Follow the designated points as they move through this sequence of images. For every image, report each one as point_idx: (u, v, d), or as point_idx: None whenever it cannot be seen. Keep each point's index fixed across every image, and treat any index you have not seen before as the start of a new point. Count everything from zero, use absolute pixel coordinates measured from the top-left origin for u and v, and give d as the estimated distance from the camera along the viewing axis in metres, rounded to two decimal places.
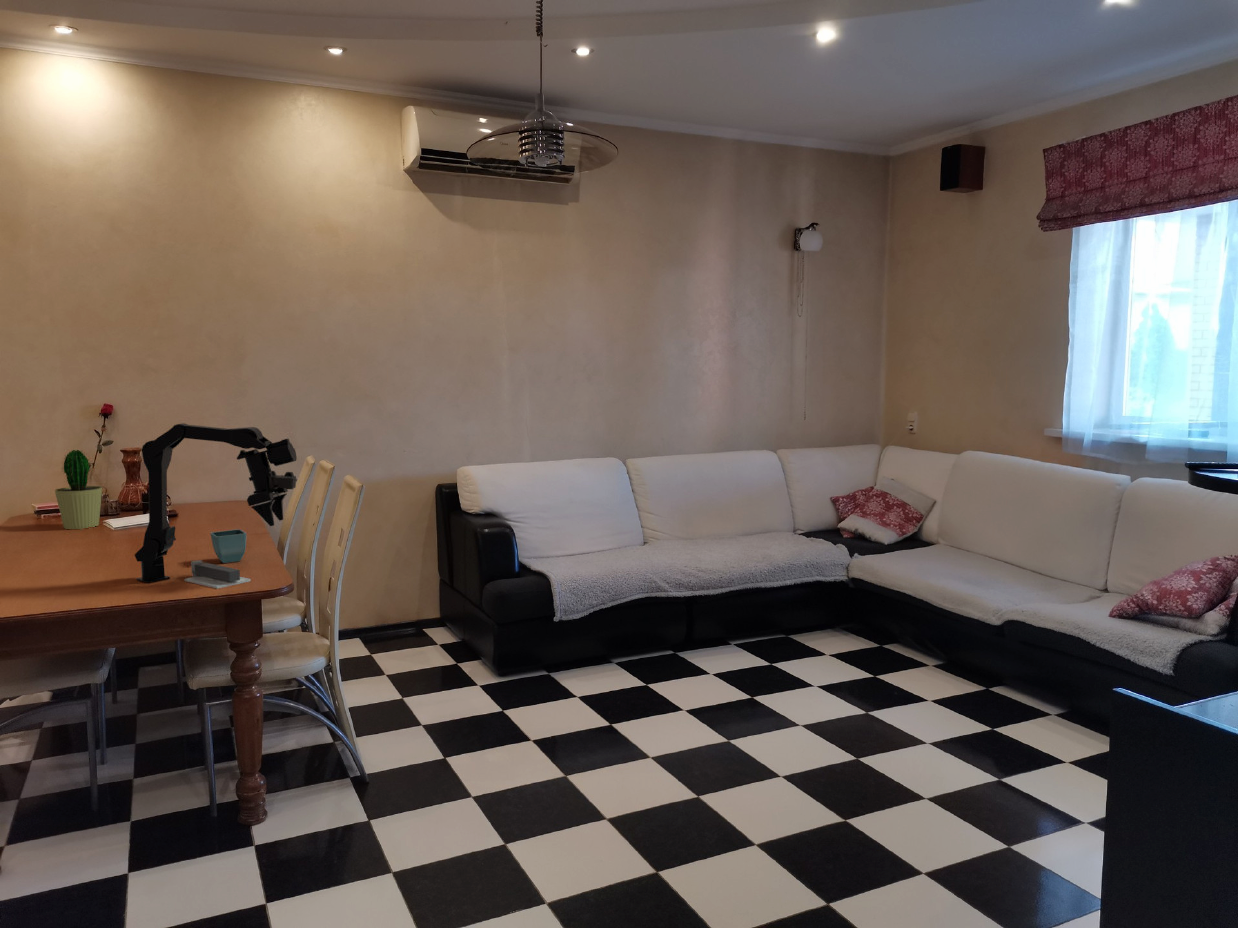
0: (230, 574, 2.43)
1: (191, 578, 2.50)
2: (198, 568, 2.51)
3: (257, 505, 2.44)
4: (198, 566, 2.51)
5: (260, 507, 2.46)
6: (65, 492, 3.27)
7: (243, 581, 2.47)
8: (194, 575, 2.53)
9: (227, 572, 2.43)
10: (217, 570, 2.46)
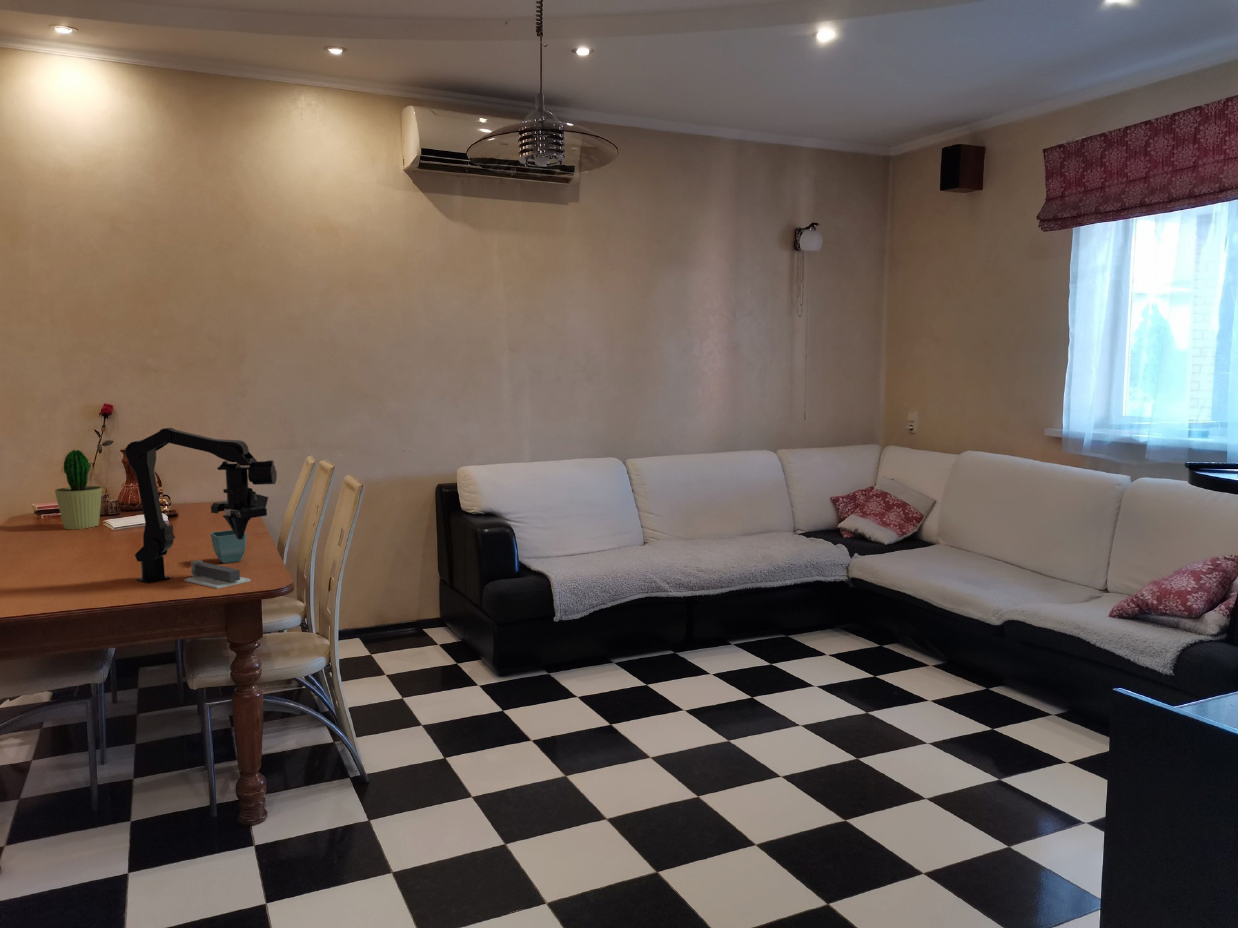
0: (230, 574, 2.43)
1: (191, 578, 2.50)
2: (198, 568, 2.51)
3: None
4: (198, 566, 2.51)
5: (239, 519, 2.51)
6: (65, 492, 3.27)
7: (243, 581, 2.47)
8: (194, 575, 2.53)
9: (227, 572, 2.43)
10: (217, 570, 2.46)
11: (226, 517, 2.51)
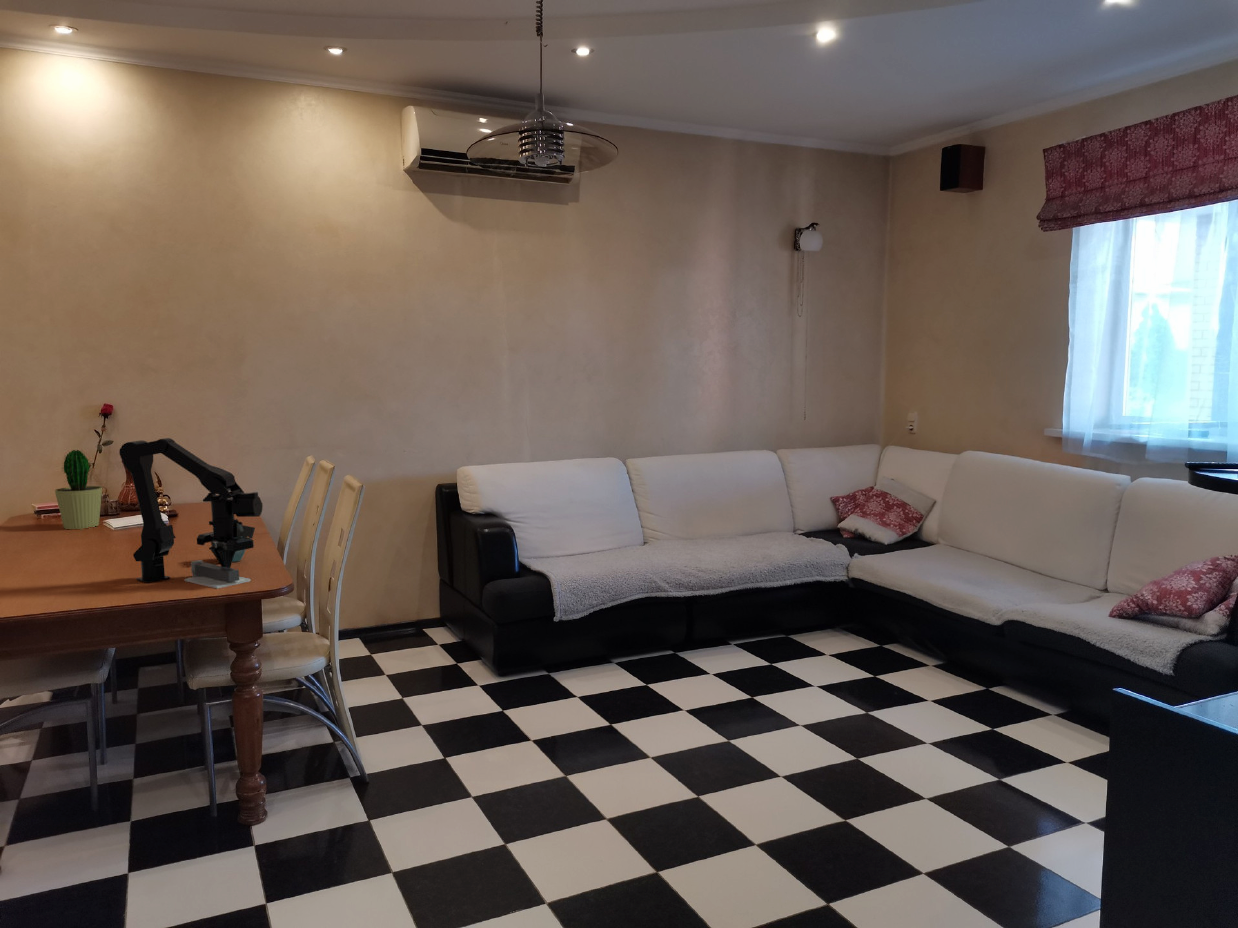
0: (229, 574, 2.43)
1: (191, 578, 2.50)
2: (198, 568, 2.51)
3: (229, 549, 2.47)
4: (198, 566, 2.51)
5: (225, 552, 2.48)
6: (65, 492, 3.27)
7: (243, 581, 2.47)
8: (194, 575, 2.53)
9: (226, 572, 2.43)
10: (216, 570, 2.46)
11: (212, 549, 2.48)
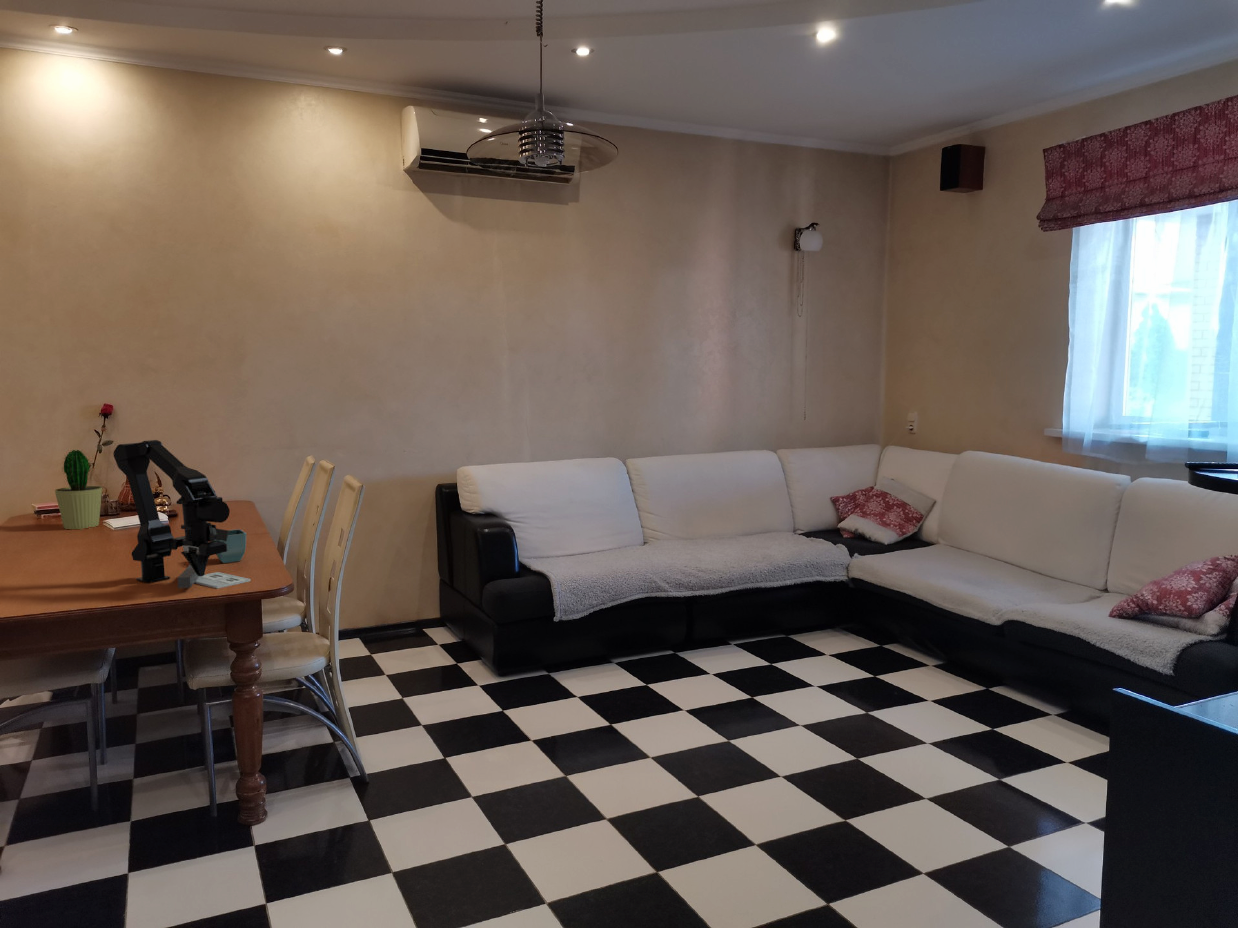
0: (178, 580, 2.36)
1: None
2: None
3: None
4: None
5: (198, 556, 2.41)
6: (65, 492, 3.27)
7: (243, 581, 2.47)
8: None
9: (178, 578, 2.37)
10: (182, 574, 2.42)
11: (184, 554, 2.41)
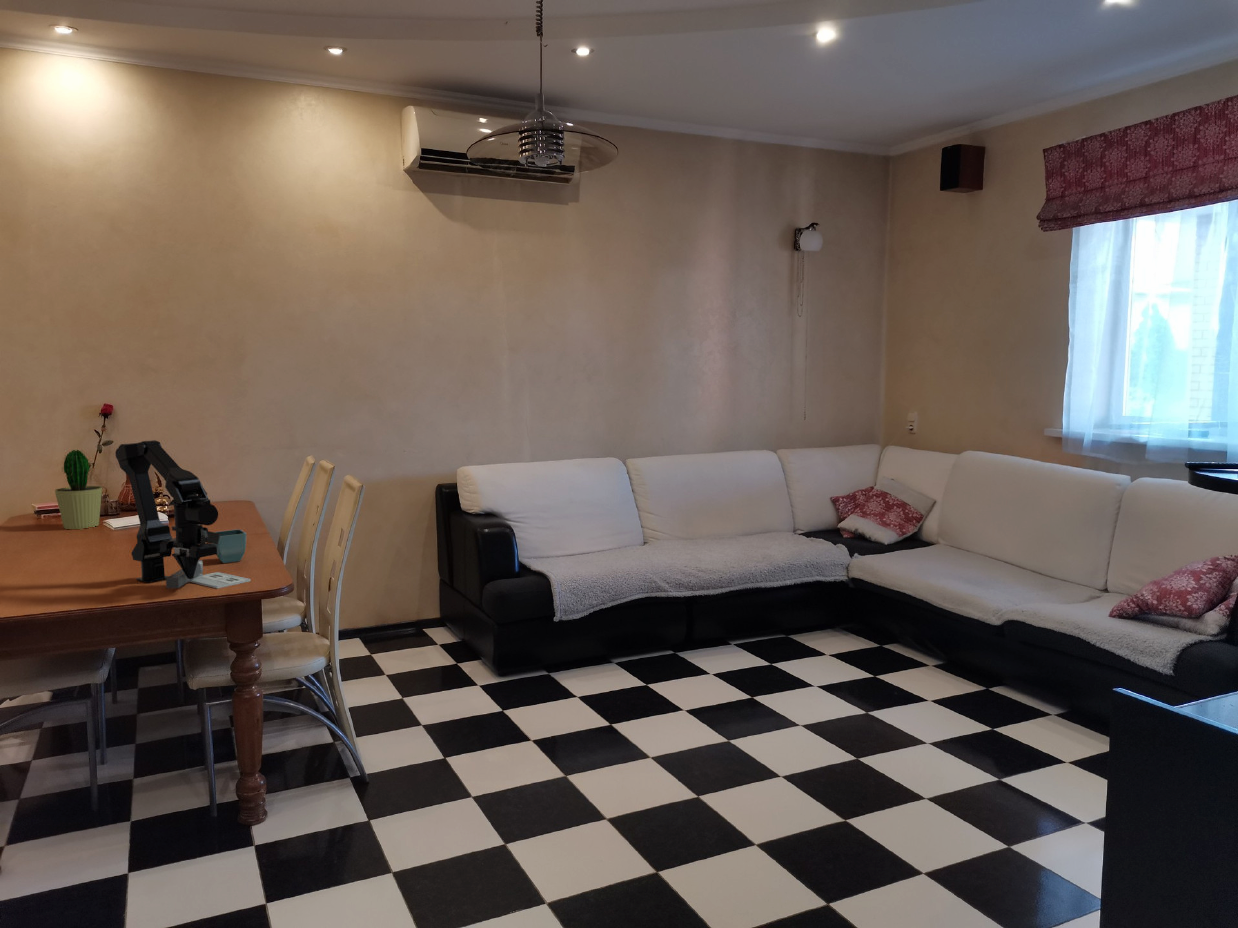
0: (167, 581, 2.36)
1: None
2: None
3: None
4: None
5: (188, 558, 2.39)
6: (65, 492, 3.27)
7: (243, 581, 2.47)
8: None
9: None
10: None
11: (175, 556, 2.39)
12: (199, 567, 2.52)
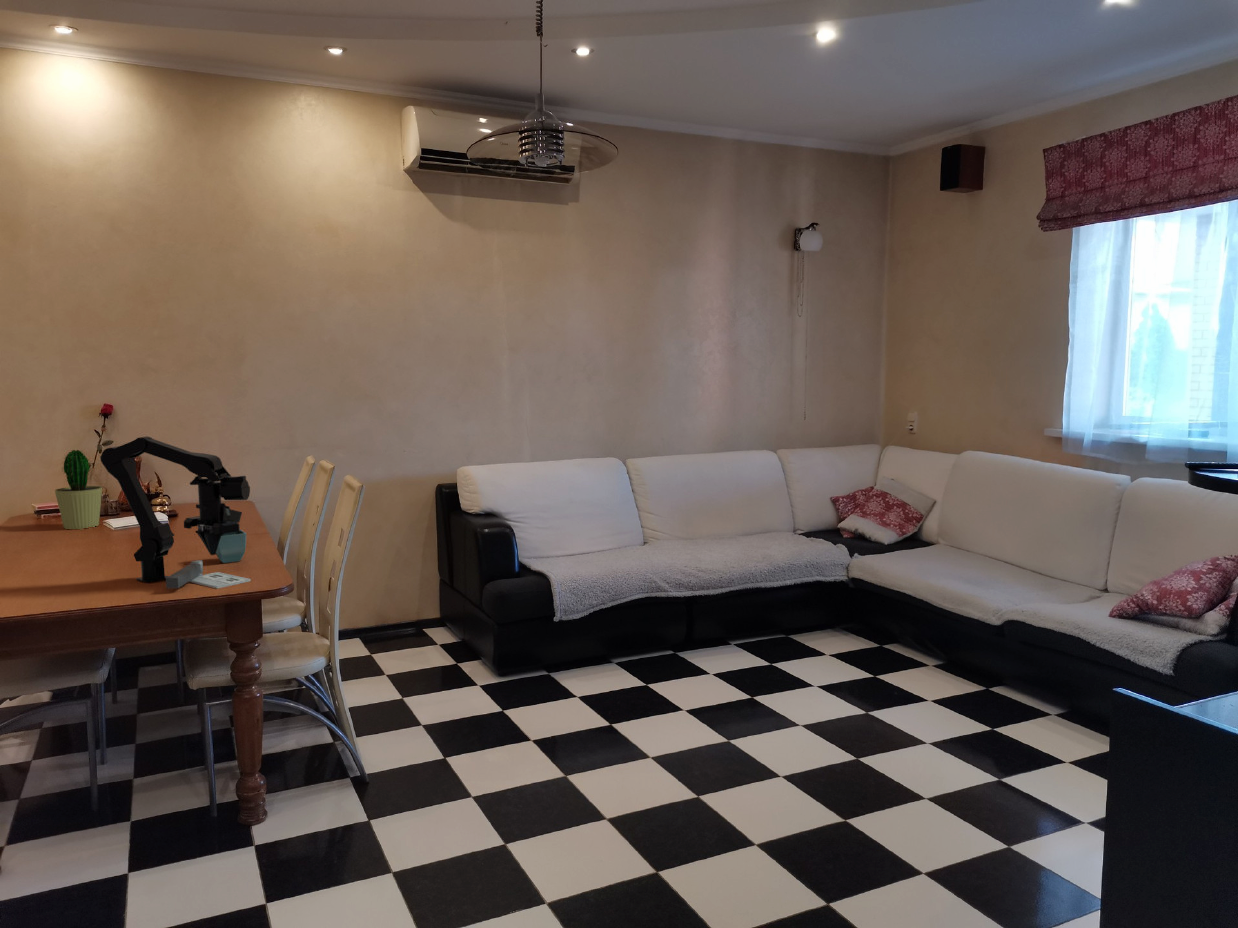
0: (167, 581, 2.36)
1: None
2: None
3: (215, 532, 2.47)
4: None
5: (211, 535, 2.48)
6: (65, 492, 3.27)
7: (243, 581, 2.47)
8: None
9: None
10: None
11: (198, 532, 2.48)
12: (199, 567, 2.52)
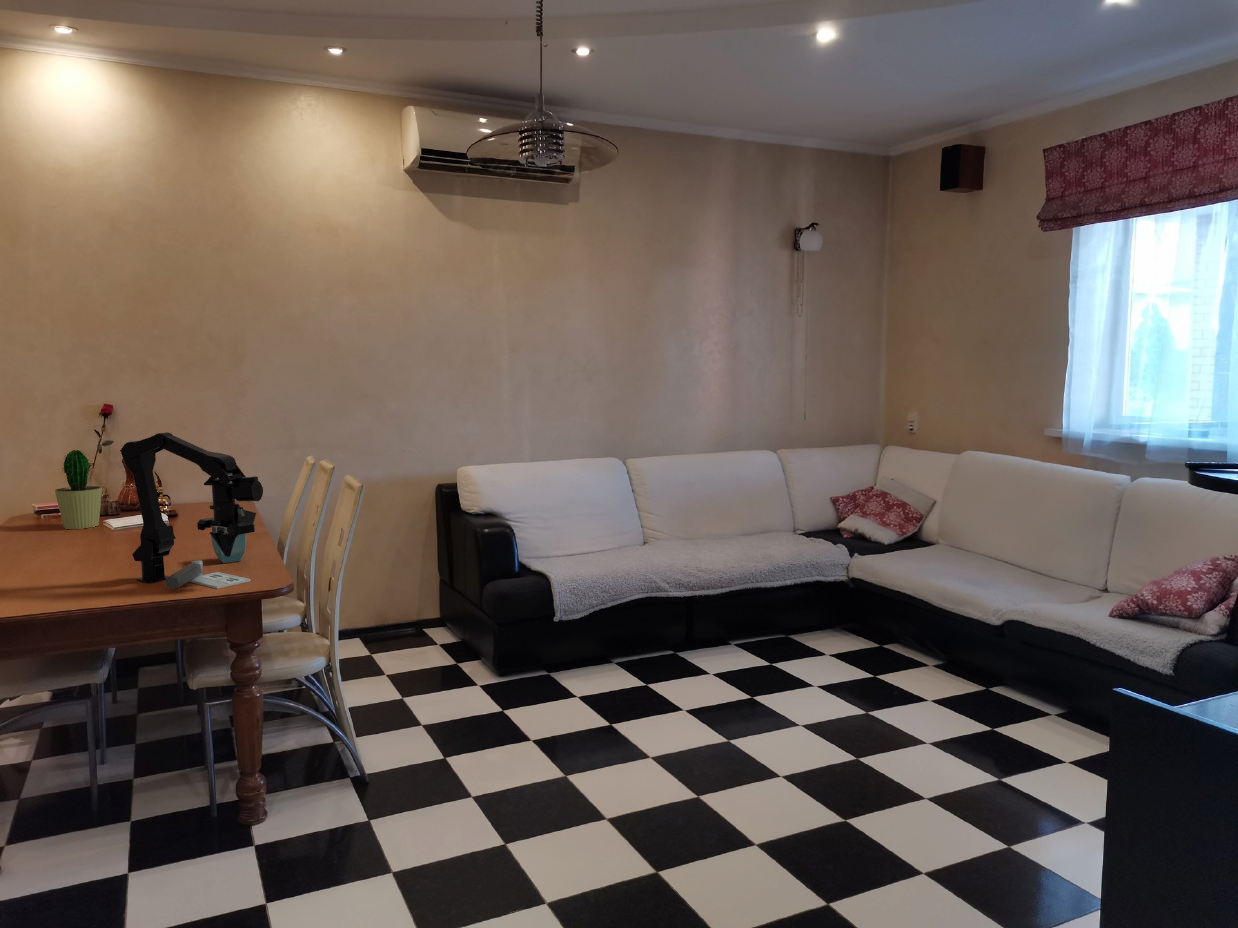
0: (167, 581, 2.36)
1: None
2: None
3: (230, 534, 2.43)
4: None
5: (226, 536, 2.45)
6: (65, 492, 3.27)
7: (243, 581, 2.47)
8: None
9: None
10: None
11: (213, 534, 2.45)
12: (199, 567, 2.52)
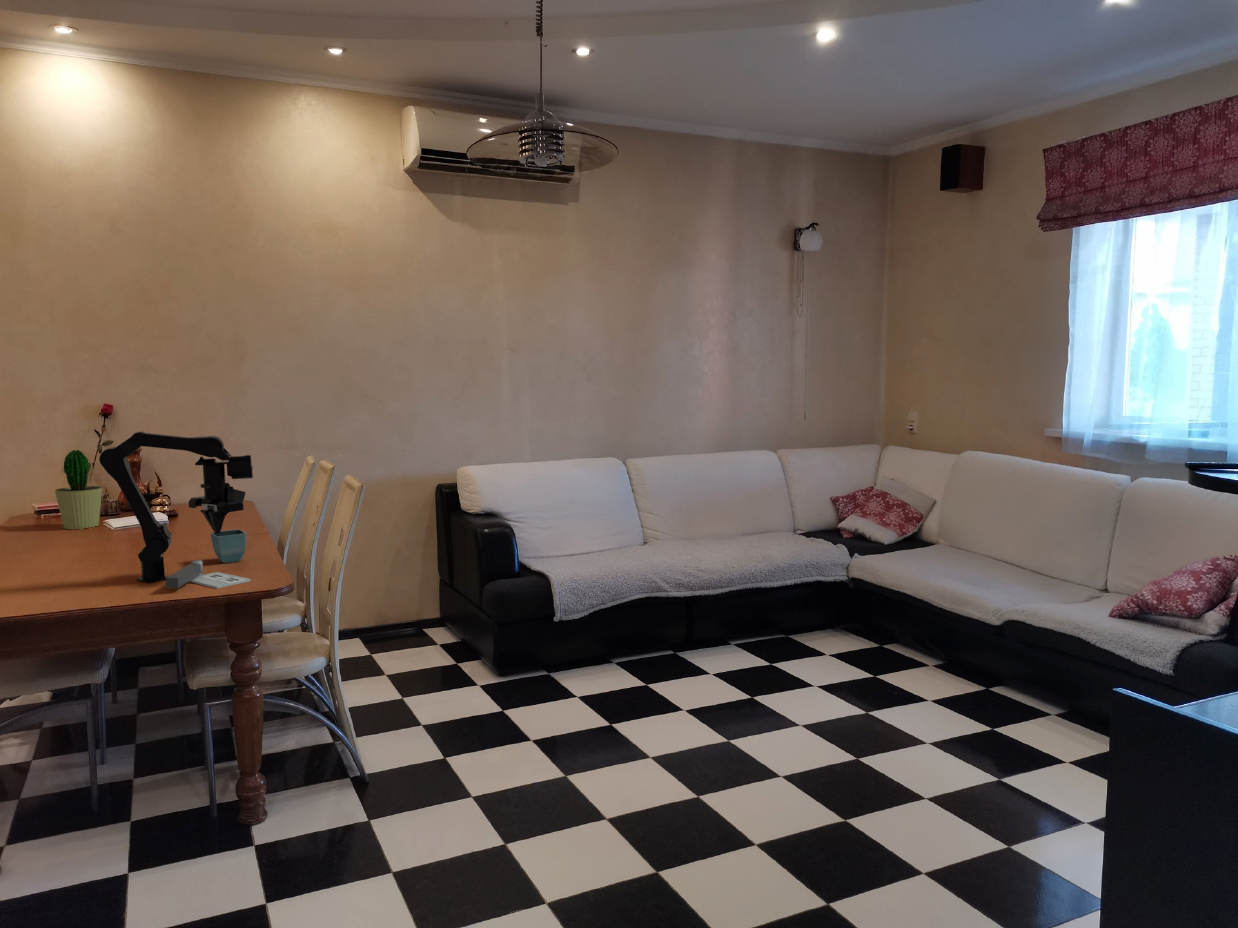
0: (167, 581, 2.36)
1: None
2: None
3: (219, 511, 2.52)
4: None
5: (216, 514, 2.53)
6: (65, 492, 3.27)
7: (243, 581, 2.47)
8: None
9: None
10: None
11: (203, 512, 2.53)
12: (199, 567, 2.52)
